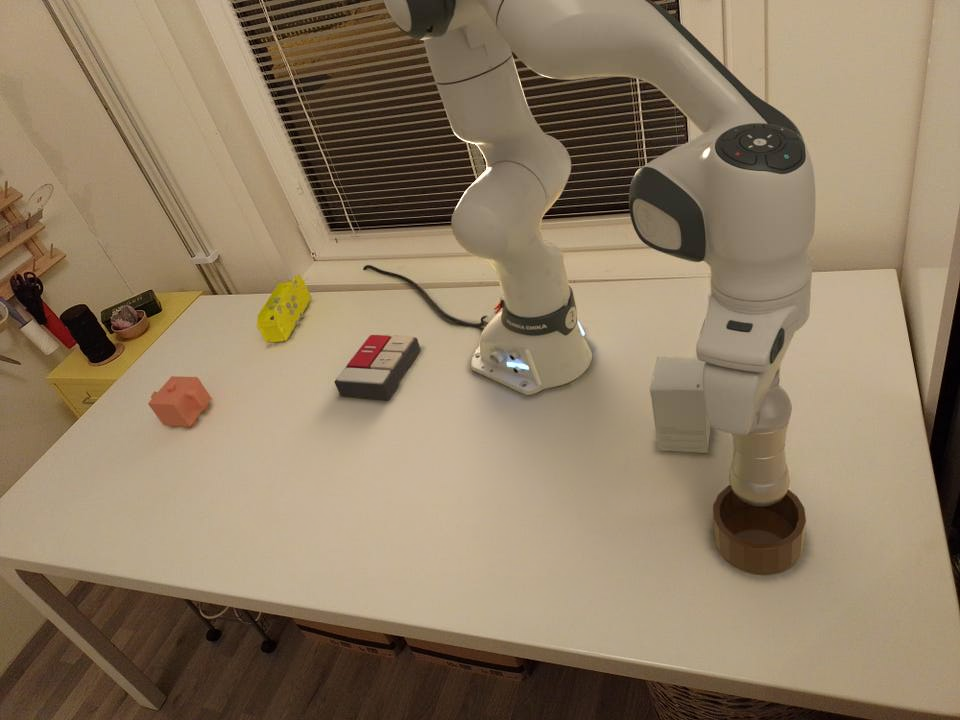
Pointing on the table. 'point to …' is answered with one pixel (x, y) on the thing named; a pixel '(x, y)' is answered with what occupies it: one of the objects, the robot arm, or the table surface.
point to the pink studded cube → (180, 401)
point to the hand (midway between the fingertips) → (759, 402)
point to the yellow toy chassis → (283, 310)
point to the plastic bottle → (763, 452)
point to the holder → (759, 533)
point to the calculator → (377, 367)
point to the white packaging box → (679, 405)
